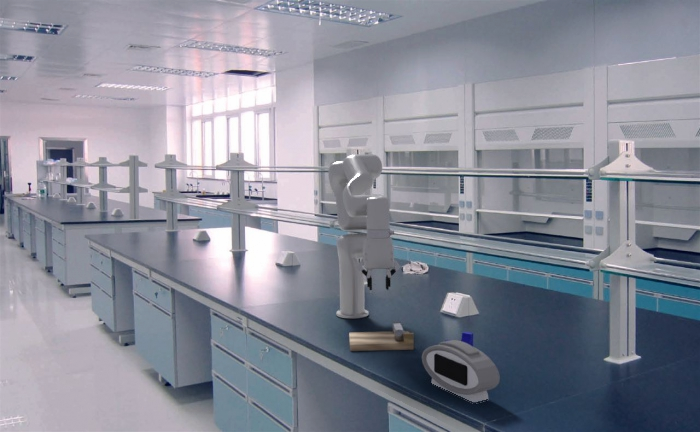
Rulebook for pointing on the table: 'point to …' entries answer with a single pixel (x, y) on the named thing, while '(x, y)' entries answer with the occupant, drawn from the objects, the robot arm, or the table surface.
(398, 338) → the folding leg
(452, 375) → the alarm clock
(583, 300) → the table surface
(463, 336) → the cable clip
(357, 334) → the stool seat
